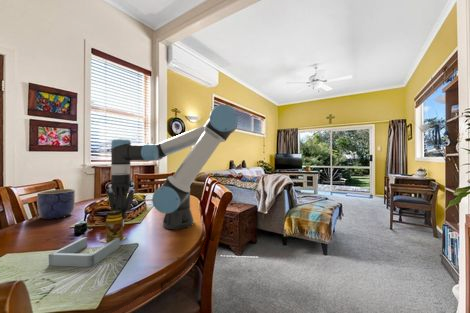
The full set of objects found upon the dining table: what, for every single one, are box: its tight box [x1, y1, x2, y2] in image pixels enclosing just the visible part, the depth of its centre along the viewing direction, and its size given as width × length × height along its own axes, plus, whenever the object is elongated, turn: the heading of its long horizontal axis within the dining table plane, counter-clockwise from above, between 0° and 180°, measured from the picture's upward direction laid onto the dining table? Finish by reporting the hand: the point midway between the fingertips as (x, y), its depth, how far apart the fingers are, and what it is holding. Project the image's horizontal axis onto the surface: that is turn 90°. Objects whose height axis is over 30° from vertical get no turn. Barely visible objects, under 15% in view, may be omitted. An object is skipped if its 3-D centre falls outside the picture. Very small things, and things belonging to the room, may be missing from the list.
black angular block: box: [67, 222, 94, 238], centre depth 94 cm, size 12×7×5 cm, turn 0°
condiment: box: [98, 210, 129, 244], centre depth 86 cm, size 7×8×12 cm
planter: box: [36, 188, 76, 220], centre depth 120 cm, size 16×16×15 cm
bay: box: [48, 236, 121, 268], centre depth 72 cm, size 14×14×4 cm
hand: (120, 226), depth 92 cm, fingers closed
